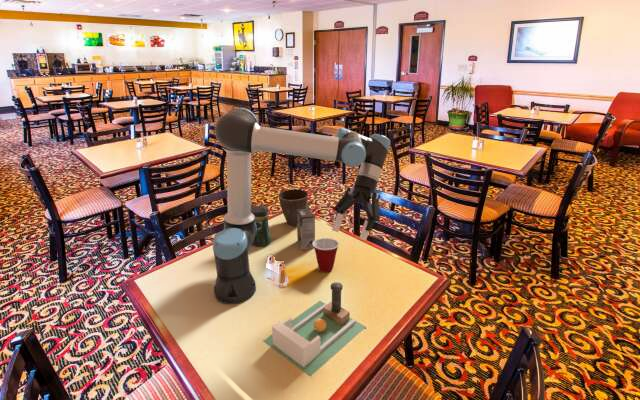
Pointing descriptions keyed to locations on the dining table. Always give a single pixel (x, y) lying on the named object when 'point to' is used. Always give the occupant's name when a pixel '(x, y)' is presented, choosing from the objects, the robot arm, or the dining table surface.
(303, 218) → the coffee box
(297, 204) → the plant pot
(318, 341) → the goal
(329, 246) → the plastic cup
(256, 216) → the coffee jar
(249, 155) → the robot arm
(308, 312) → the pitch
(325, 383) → the dining table surface
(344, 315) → the rubber stamp
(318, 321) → the ball
